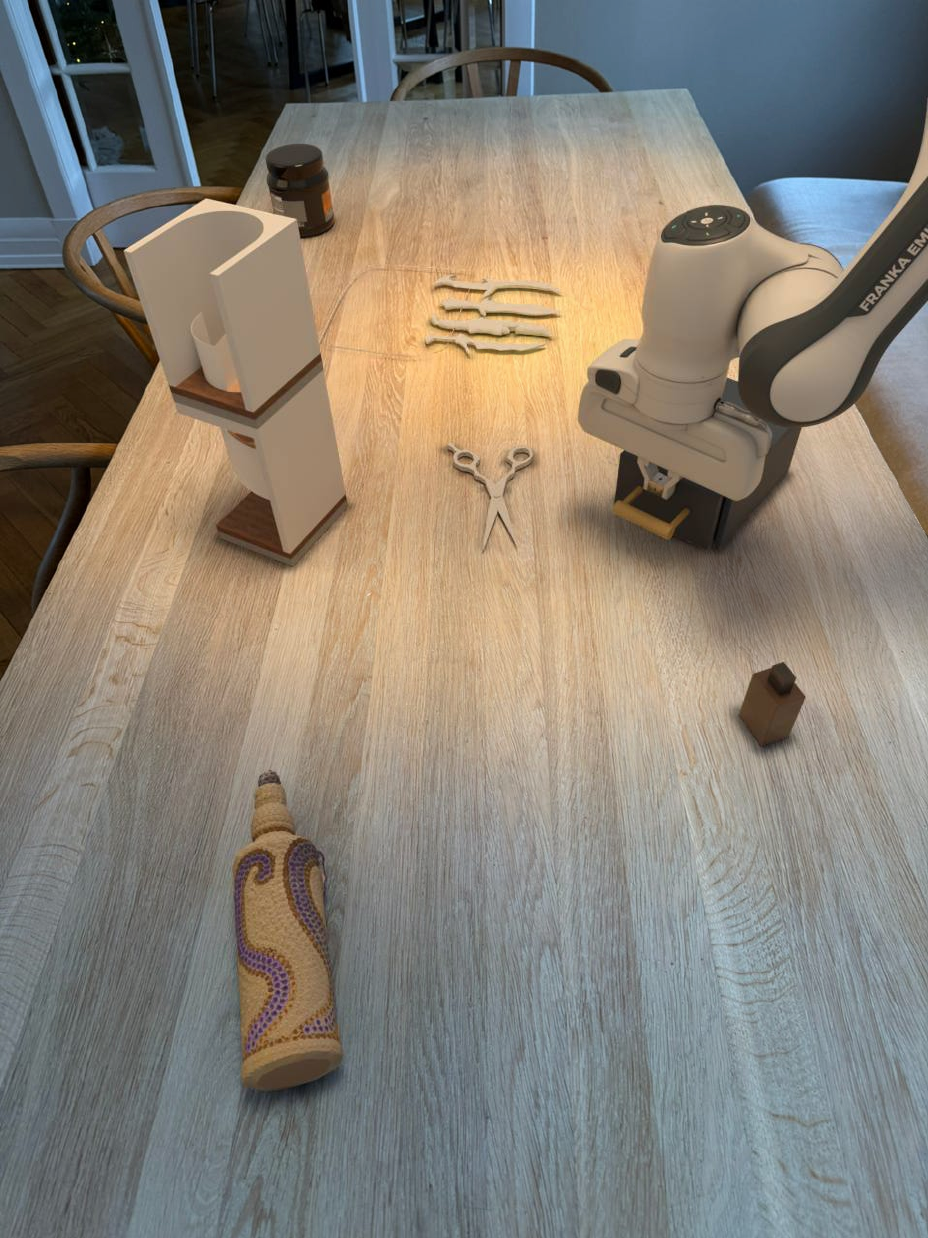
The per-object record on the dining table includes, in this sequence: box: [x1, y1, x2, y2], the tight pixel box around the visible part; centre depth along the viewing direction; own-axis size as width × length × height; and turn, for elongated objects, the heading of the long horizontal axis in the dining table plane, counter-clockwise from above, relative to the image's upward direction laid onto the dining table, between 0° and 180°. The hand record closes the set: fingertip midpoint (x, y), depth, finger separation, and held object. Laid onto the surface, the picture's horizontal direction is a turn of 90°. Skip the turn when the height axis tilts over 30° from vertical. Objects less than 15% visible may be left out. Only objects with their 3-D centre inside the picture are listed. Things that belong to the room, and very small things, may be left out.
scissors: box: [447, 441, 534, 551], centre depth 107 cm, size 11×1×20 cm
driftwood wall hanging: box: [318, 264, 565, 357], centre depth 134 cm, size 26×35×1 cm
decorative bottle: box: [231, 769, 344, 1092], centre depth 71 cm, size 26×8×7 cm, turn 12°
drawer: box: [612, 450, 726, 552], centre depth 101 cm, size 20×12×8 cm, turn 140°
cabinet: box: [712, 377, 803, 549], centre depth 103 cm, size 17×14×10 cm
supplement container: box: [265, 143, 335, 238], centre depth 152 cm, size 10×10×12 cm
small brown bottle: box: [738, 661, 807, 747], centre depth 81 cm, size 4×3×8 cm
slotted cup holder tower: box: [123, 198, 349, 567], centre depth 92 cm, size 11×11×35 cm
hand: (658, 491), depth 96 cm, fingers closed
